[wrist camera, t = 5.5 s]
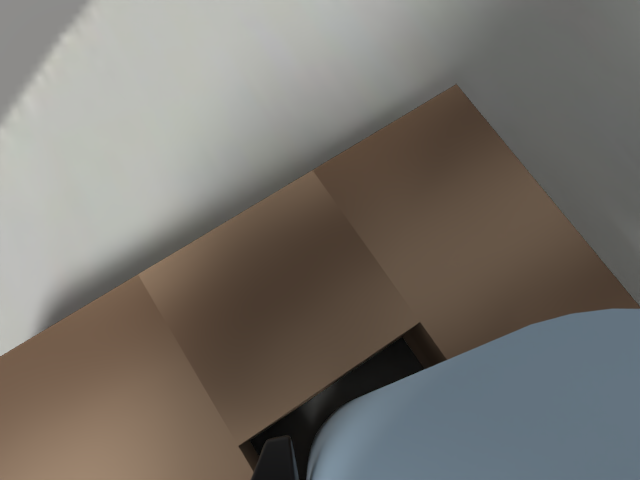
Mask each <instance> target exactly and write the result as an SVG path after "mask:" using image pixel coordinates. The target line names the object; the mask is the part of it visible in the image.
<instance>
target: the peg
mask: <svg viewBox="0 0 640 480" xmlns="http://www.w3.org/2000/svg"><path fill="white" fill-rule="evenodd" d="M307 480H640V309H605V310H597V311H589V312H581V313H573V314H568V315H565V316H561V317H557V318H553V319H550V320H546V321H542V322H538V323H535V324H531V325H529V326H526V327H524V328H521V329H519V330H517V331H514V332H512V333H510V334H507V335H505V336H503V337H500V338H498V339H495V340H493V341H491V342H488V343H486V344H484V345H481V346H479V347H477V348H474V349H472V350H469V351H467V352H465V353H462V354H460V355H458V356H455V357H453V358H451V359H448V360H446V361H443V362H441V363H439V364H436V365H434V366H432V367H429V368H427V369H424V370H422V371H420V372H417V373H415V374H413V375H410V376H408V377H406V378H403V379H401V380H398V381H396V382H394V383H391V384H389V385H387V386H384V387H382V388H380V389H377V390H375V391H372V392H370V393H368V394H365V395H363V396H361V397H358V398H356V399H354V400H351V401H349V402H347V403H345V404H344V405H342V406H340V407H339V408H338V409H337V410H335V411H334V412H333V413H332V414H331V415H330V416H329V417H328V418H327V419H326V420H325V421H324V423H323V424H322V425H321V427H320V428H319V430H318V432H317V434H316V435H315V437H314V440H313V442H312V445H311V448H310V452H309V456H308V462H307Z"/></svg>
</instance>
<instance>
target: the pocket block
mask: <svg viewBox="0 0 640 480" xmlns="http://www.w3.org/2000/svg"><path fill="white" fill-rule="evenodd" d="M605 309H640V306H639V305H638V304H637V303H636V301H635V300H634V299H633V298H632V297H631V295H630V294H629V293H628V292H627V291H626V289H625V288H624V287H623V286H622V284H621V283H620V282H619V281H618V280H617V278H616V277H615V276H614V275H613V274H612V272H611V271H610V270H609V269H608V267H607V266H606V265H605V264H604V263H603V261H602V260H601V259H600V258H599V257H598V255H597V254H596V253H595V252H594V250H593V249H592V248H591V247H590V246H589V244H588V243H587V242H586V241H585V240H584V238H583V237H582V236H581V235H580V233H579V232H578V231H577V230H576V229H575V227H574V226H573V225H572V224H571V223H570V221H569V220H568V219H567V218H566V217H565V215H564V214H563V213H562V212H561V210H560V209H559V208H558V207H557V206H556V204H555V203H554V202H553V201H552V200H551V198H550V197H549V196H548V195H547V193H546V192H545V191H544V190H543V189H542V187H541V186H540V185H539V184H538V183H537V181H536V180H535V179H534V178H533V176H532V175H531V174H530V173H529V172H528V170H527V169H526V168H525V167H524V166H523V164H522V163H521V162H520V161H519V159H518V158H517V157H516V156H515V155H514V153H513V152H512V151H511V150H510V149H509V147H508V146H507V145H506V144H505V143H504V141H503V140H502V139H501V138H500V136H499V135H498V134H497V133H496V132H495V130H494V129H493V128H492V127H491V126H490V124H489V123H488V122H487V121H486V119H485V118H484V117H483V116H482V115H481V113H480V112H479V111H478V110H477V109H476V107H475V106H474V105H473V104H472V102H471V101H470V100H469V99H468V98H467V96H466V95H465V94H464V93H463V92H462V90H461V89H460V88H459V87H458V85H457V84H456V85H454V86H452V87H451V88H449V89H447V90H446V91H444V92H442V93H441V94H439V95H437V96H436V97H434V98H432V99H431V100H429V101H427V102H426V103H424V104H422V105H421V106H419V107H417V108H416V109H414V110H412V111H411V112H409V113H407V114H406V115H404V116H402V117H401V118H399V119H397V120H396V121H394V122H392V123H391V124H389V125H387V126H385V127H384V128H382V129H380V130H379V131H377V132H375V133H374V134H372V135H370V136H369V137H367V138H365V139H364V140H362V141H360V142H359V143H357V144H355V145H354V146H352V147H350V148H349V149H347V150H345V151H344V152H342V153H340V154H339V155H337V156H335V157H334V158H332V159H330V160H329V161H327V162H325V163H324V164H322V165H320V166H319V167H317V168H315V169H313V170H312V171H310V172H308V173H307V174H305V175H303V176H302V177H300V178H298V179H297V180H295V181H293V182H292V183H290V184H288V185H287V186H285V187H283V188H282V189H280V190H278V191H277V192H275V193H273V194H272V195H270V196H268V197H267V198H265V199H263V200H262V201H260V202H258V203H257V204H255V205H253V206H252V207H250V208H248V209H247V210H245V211H243V212H241V213H240V214H238V215H236V216H235V217H233V218H231V219H230V220H228V221H226V222H225V223H223V224H221V225H220V226H218V227H216V228H215V229H213V230H211V231H210V232H208V233H206V234H205V235H203V236H201V237H200V238H198V239H196V240H195V241H193V242H191V243H190V244H188V245H186V246H185V247H183V248H181V249H180V250H178V251H176V252H175V253H173V254H171V255H169V256H168V257H166V258H164V259H163V260H161V261H159V262H158V263H156V264H154V265H153V266H151V267H149V268H148V269H146V270H144V271H143V272H141V273H139V274H138V275H136V276H134V277H133V278H131V279H129V280H128V281H126V282H124V283H123V284H121V285H119V286H118V287H116V288H114V289H113V290H111V291H109V292H108V293H106V294H104V295H103V296H101V297H99V298H97V299H96V300H94V301H92V302H91V303H89V304H87V305H86V306H84V307H82V308H81V309H79V310H77V311H76V312H74V313H72V314H71V315H69V316H67V317H66V318H64V319H62V320H61V321H59V322H57V323H56V324H54V325H52V326H51V327H49V328H47V329H46V330H44V331H42V332H41V333H39V334H37V335H36V336H34V337H32V338H31V339H29V340H27V341H25V342H24V343H22V344H20V345H19V346H17V347H15V348H14V349H12V350H10V351H9V352H7V353H5V354H4V355H2V356H0V480H251V477H252V475H253V472H254V469H255V467H256V464H257V462H258V459H259V455H258V454H257V452H256V450H255V449H254V447H253V445H252V444H251V442H250V440H252V439H253V438H255V437H256V436H258V435H259V434H261V433H262V432H264V431H265V430H267V429H268V428H269V427H271V426H272V425H274V424H275V423H277V422H278V421H280V420H281V419H283V418H284V417H286V416H287V415H288V414H290V413H291V412H293V411H294V410H296V409H297V408H299V407H300V406H302V405H303V404H305V403H306V402H308V401H309V400H310V399H312V398H313V397H315V396H316V395H318V394H319V393H321V392H322V391H324V390H325V389H327V388H328V387H329V386H331V385H332V384H334V383H335V382H337V381H338V380H340V379H341V378H343V377H344V376H346V375H347V374H349V373H350V372H351V371H353V370H354V369H356V368H357V367H359V366H360V365H362V364H363V363H365V362H366V361H368V360H369V359H370V358H372V357H373V356H375V355H376V354H378V353H379V352H381V351H382V350H384V349H385V348H387V347H388V346H390V345H391V344H392V343H394V342H395V341H397V340H398V339H400V338H401V337H403V339H404V340H405V342H406V343H407V344H408V346H409V347H410V349H411V350H412V352H413V353H414V355H415V356H416V357H417V359H418V360H419V362H420V363H421V365H422V366H423V367H424V369H427V368H429V367H432V366H434V365H436V364H439V363H441V362H443V361H446V360H448V359H451V358H453V357H455V356H458V355H460V354H462V353H465V352H467V351H469V350H472V349H474V348H477V347H479V346H481V345H484V344H486V343H488V342H491V341H493V340H495V339H498V338H500V337H503V336H505V335H507V334H510V333H512V332H514V331H517V330H519V329H521V328H524V327H526V326H529V325H531V324H535V323H538V322H542V321H546V320H550V319H553V318H557V317H561V316H565V315H568V314H573V313H581V312H589V311H597V310H605Z"/></svg>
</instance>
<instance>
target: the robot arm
mask: <svg viewBox="0 0 640 480" xmlns="http://www.w3.org/2000/svg"><path fill="white" fill-rule="evenodd" d="M251 480H299V476H298V470H297V465H296V460H295V455H294V450H293V444H292V440H291V437H290V436H288V435H286V436H280V437H275V438H270V439H268V440H267V441H266V442H265V444H264V446H263V449H262V451H261V454H260V456H259V459H258V462H257V464H256V467H255V469H254V472H253V475H252V477H251Z"/></svg>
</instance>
